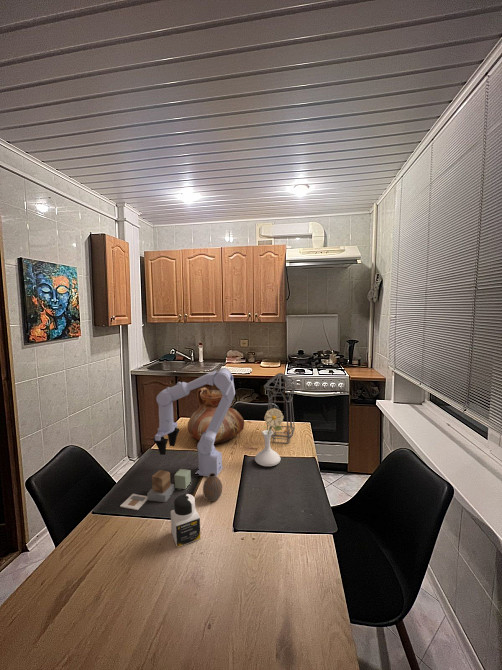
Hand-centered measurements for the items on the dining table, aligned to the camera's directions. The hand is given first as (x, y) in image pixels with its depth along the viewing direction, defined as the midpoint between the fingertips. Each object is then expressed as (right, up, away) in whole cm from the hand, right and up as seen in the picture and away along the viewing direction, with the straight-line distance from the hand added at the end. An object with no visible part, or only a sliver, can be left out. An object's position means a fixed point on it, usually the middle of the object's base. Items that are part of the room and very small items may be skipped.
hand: (167, 450), depth 126 cm
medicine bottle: (+15, -13, -35) cm, 40 cm away
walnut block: (+2, -8, -15) cm, 18 cm away
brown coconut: (+21, -11, -17) cm, 29 cm away
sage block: (+9, -10, -10) cm, 17 cm away
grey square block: (+2, -11, -15) cm, 19 cm away
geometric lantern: (+51, -6, +31) cm, 59 cm away
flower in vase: (+43, -8, +7) cm, 45 cm away
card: (-6, -11, -19) cm, 23 cm away
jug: (+16, -6, +35) cm, 39 cm away
